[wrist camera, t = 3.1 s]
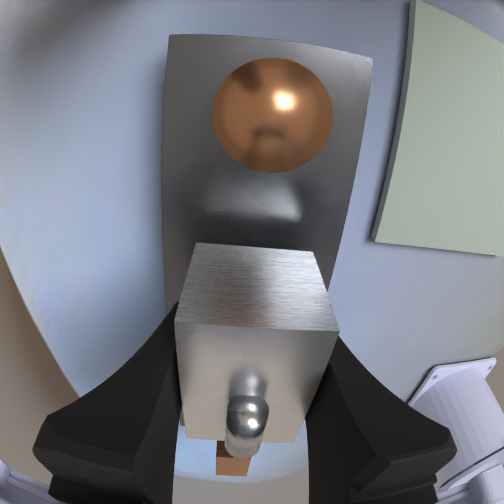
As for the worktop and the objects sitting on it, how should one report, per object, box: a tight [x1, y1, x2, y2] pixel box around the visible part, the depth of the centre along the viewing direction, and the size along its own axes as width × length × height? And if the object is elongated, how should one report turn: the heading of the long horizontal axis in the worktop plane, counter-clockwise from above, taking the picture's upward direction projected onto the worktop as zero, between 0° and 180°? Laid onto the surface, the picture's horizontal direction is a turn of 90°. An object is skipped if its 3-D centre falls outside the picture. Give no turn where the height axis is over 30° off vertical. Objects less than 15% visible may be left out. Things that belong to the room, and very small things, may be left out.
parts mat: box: [371, 0, 504, 257], centre depth 12 cm, size 12×10×1 cm
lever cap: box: [174, 242, 340, 459], centre depth 10 cm, size 6×4×5 cm, turn 174°
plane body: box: [162, 34, 373, 476], centre depth 13 cm, size 22×7×6 cm, turn 174°
